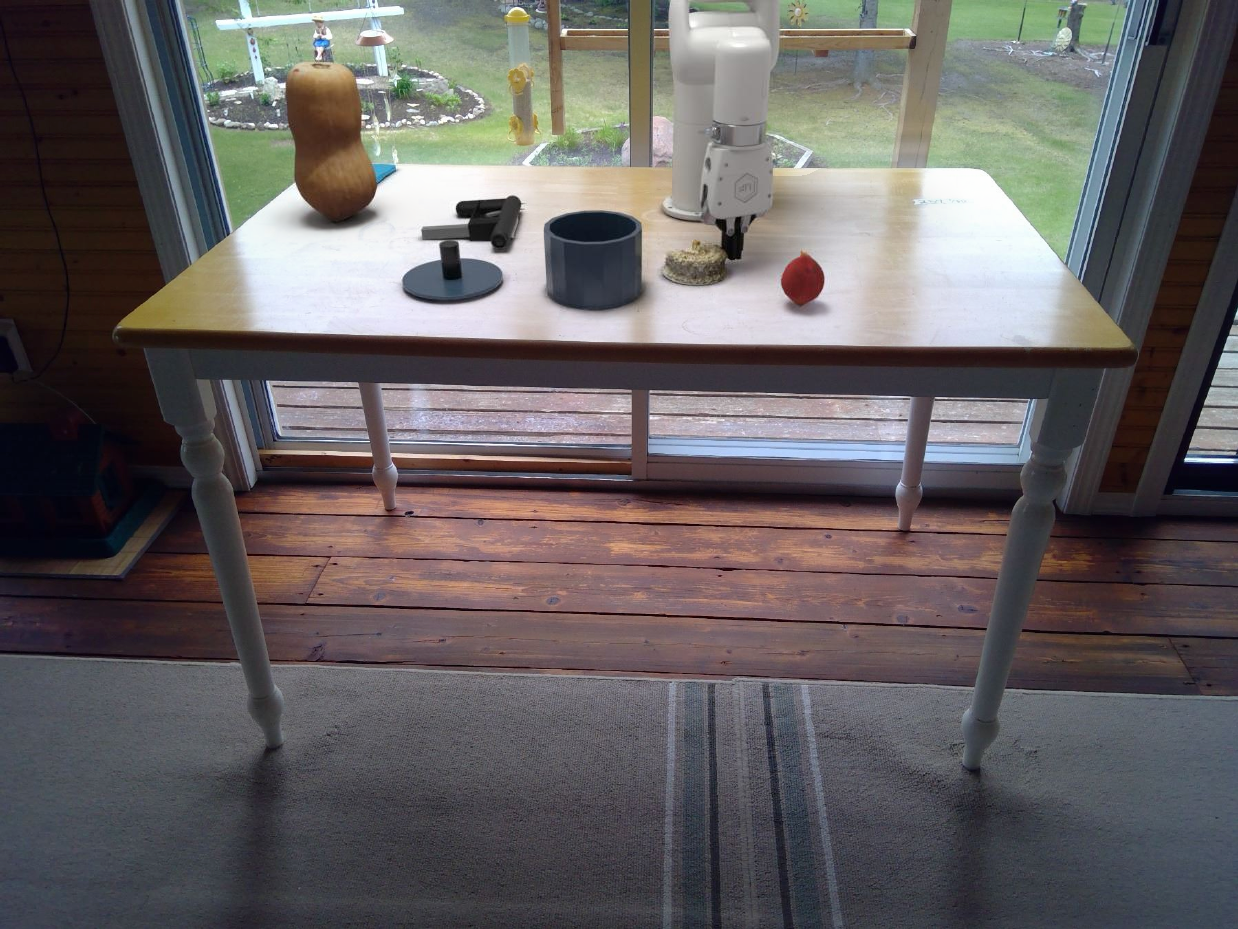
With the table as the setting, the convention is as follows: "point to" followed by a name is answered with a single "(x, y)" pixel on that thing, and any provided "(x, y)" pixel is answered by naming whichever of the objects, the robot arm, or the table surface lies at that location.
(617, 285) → the pot
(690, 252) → the cake
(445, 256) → the pot lid
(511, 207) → the door handle
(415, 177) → the table surface
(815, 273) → the onion
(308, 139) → the butternut squash
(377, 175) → the sponge
